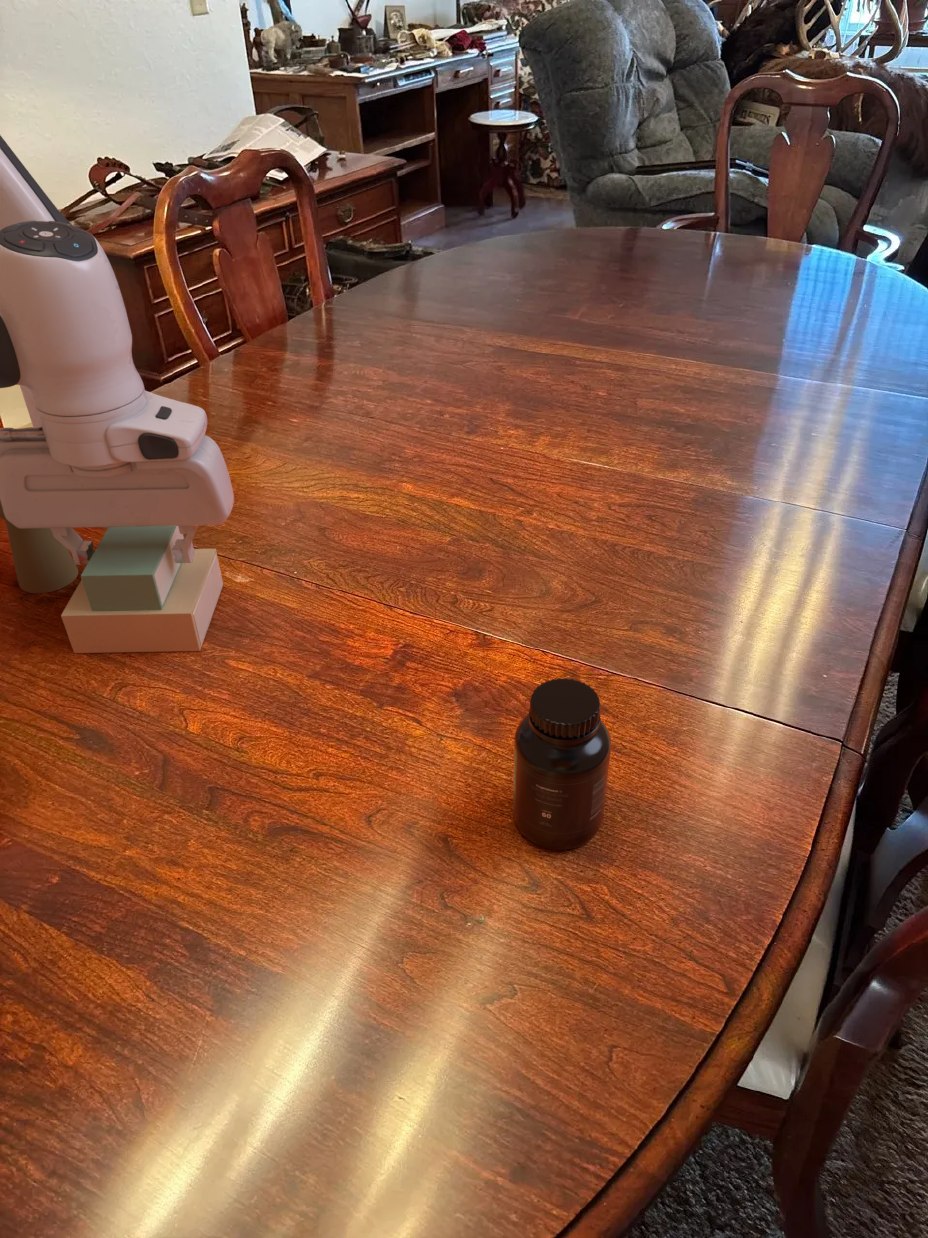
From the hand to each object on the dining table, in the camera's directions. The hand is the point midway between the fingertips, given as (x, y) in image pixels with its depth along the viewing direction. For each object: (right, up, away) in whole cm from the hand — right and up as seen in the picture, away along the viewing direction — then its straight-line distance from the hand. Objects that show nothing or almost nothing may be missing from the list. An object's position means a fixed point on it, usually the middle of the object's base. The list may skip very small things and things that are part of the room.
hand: (136, 560), depth 88 cm
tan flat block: (0, -5, +4) cm, 7 cm away
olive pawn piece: (-13, -1, +10) cm, 16 cm away
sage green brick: (0, -2, +1) cm, 2 cm away
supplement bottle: (+38, -21, -17) cm, 47 cm away
